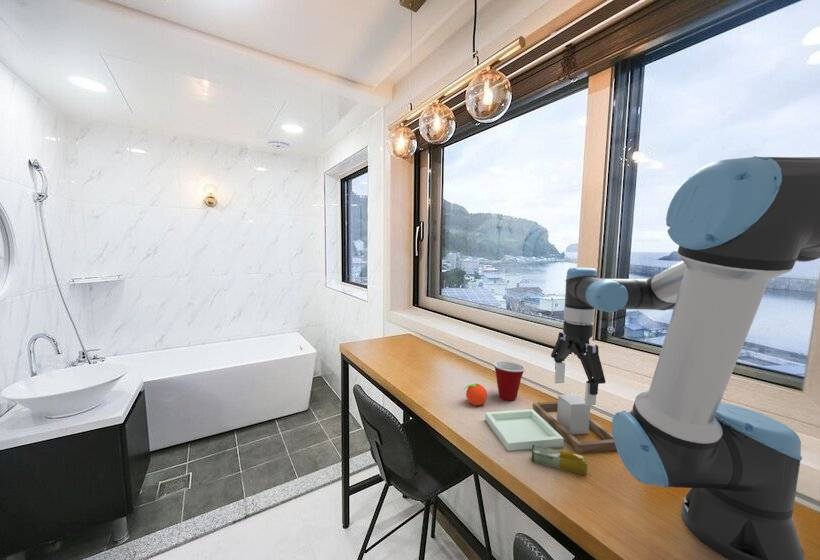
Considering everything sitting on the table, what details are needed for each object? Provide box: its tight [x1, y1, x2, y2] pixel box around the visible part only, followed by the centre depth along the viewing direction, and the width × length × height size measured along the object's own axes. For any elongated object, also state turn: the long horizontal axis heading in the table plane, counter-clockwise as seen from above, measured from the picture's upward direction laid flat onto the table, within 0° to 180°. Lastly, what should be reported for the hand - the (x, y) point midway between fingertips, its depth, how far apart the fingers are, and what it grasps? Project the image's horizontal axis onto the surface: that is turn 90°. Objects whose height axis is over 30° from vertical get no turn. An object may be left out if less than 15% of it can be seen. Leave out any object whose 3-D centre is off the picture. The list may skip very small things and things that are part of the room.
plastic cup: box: [493, 360, 526, 402], centre depth 111 cm, size 11×11×12 cm
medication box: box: [531, 445, 588, 476], centre depth 75 cm, size 12×3×4 cm, turn 67°
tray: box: [484, 408, 565, 452], centre depth 89 cm, size 15×15×3 cm
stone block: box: [556, 393, 591, 435], centre depth 92 cm, size 6×6×9 cm
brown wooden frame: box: [532, 400, 618, 454], centre depth 92 cm, size 22×12×2 cm, turn 8°
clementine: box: [463, 383, 488, 406], centre depth 106 cm, size 8×7×7 cm
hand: (573, 392), depth 92 cm, fingers open, 13 cm apart
